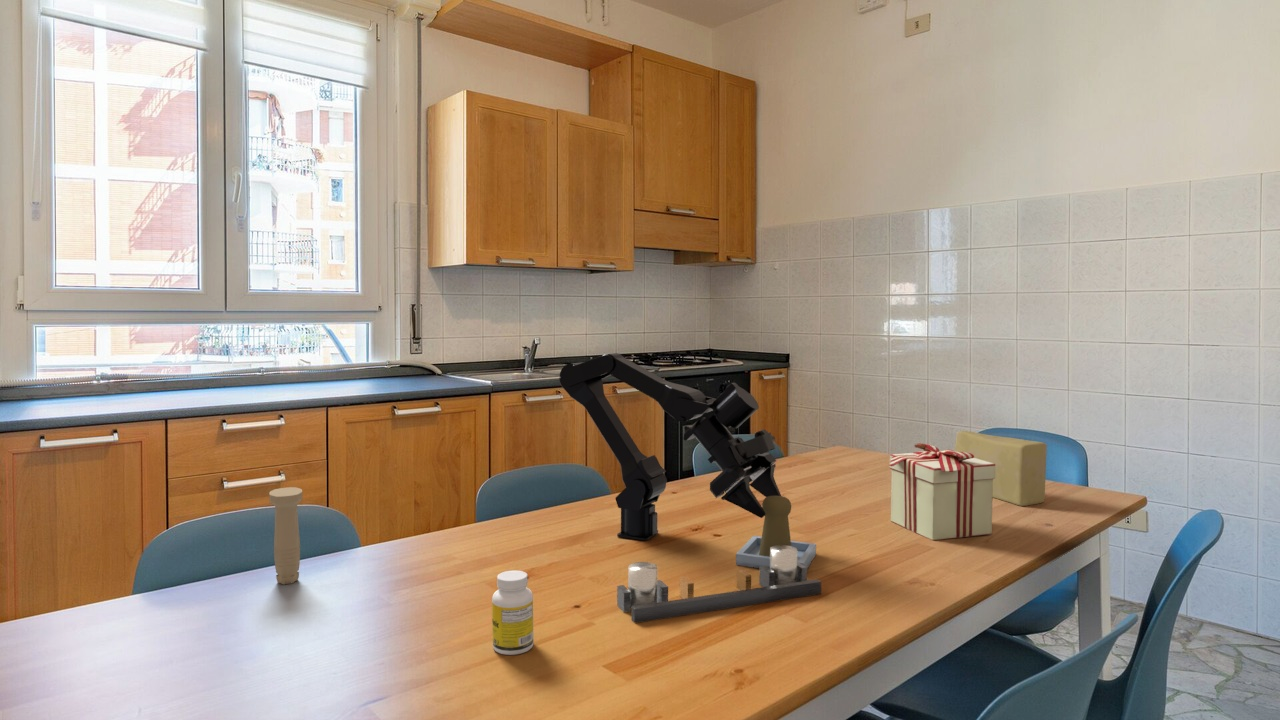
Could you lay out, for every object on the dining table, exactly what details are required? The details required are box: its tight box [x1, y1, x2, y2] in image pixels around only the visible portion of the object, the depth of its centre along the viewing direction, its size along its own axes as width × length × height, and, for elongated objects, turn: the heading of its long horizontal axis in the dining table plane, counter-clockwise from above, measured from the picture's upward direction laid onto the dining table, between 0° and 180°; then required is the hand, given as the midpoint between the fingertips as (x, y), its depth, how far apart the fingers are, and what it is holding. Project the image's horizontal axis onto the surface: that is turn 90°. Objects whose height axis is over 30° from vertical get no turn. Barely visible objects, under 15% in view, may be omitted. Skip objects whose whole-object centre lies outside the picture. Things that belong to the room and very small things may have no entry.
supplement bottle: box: [491, 570, 534, 656], centre depth 99 cm, size 5×5×10 cm
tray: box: [735, 535, 817, 569], centre depth 135 cm, size 12×12×2 cm
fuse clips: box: [616, 545, 822, 624], centre depth 116 cm, size 8×32×6 cm, turn 112°
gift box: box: [888, 442, 996, 541], centre depth 155 cm, size 17×18×17 cm
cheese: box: [954, 430, 1048, 507], centre depth 186 cm, size 22×10×15 cm, turn 29°
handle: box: [268, 486, 303, 585], centre depth 122 cm, size 5×6×15 cm
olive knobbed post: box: [759, 495, 792, 557], centre depth 135 cm, size 6×6×11 cm
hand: (773, 510), depth 135 cm, fingers open, 9 cm apart
